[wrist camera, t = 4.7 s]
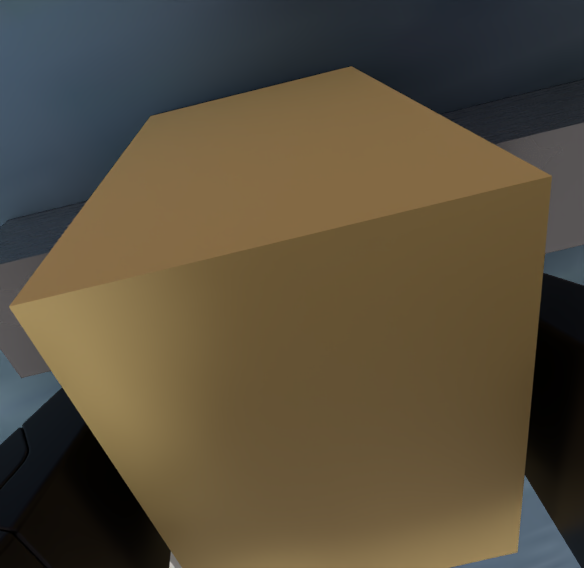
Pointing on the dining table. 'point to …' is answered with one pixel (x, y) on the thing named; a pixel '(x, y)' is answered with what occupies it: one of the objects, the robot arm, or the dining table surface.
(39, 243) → the rail
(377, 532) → the block
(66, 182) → the dining table surface
